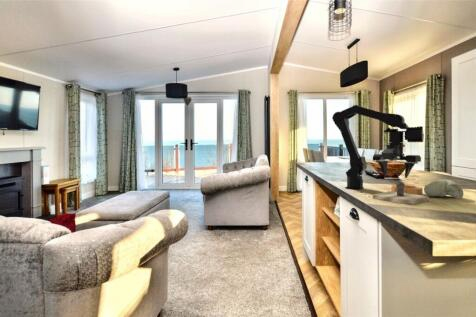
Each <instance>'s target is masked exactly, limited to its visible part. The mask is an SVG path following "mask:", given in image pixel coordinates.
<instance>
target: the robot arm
mask: <svg viewBox="0 0 476 317" xmlns="http://www.w3.org/2000/svg"><path fill="white" fill-rule="evenodd" d="M356 115H361V116H364V117H366V118H367V117H368V118H371V119H374V120H378V121H380V122H382V123H384V124H385V125H387V128H386V129H385V130H384V131H383V133H385V134H386V133H388V144H387V145H386V149H384V150H382V151H381V153H375V154H374V155H372V161H375V163H377V164H378V165H379V167H380V168H381V171H382V174H383V176H384V177H386V176H387V174H388V160H389V161H391V160H392V161H406V162H404V166H405V167H404V169H405V170H404V178H405V179H408V177H409V174H410V173H411V171H412V169H413V167H414V166H415V165H416V164H418V163H420V162H422V156H420V155H419V154H418V155H417V154H407V155H405V153H404V147H405V146H406V145H405V144H404V140H405V141H406V142H407V143H424V139H425V138H424V137H425V134H424V126H413V127H411V126H410V127H409V125H408V124H407V123H406V122H405V121H406V120H405V117H404V116H403V115H401V114H398V113H388V112H381V111H377V110H374V109H370V108H366V107H363V106H361V105H357V104H353V105H352V106H350V107H348V108H345V109H343V110H341V111H336V112H334V113H333V115H332V118H331V119H332V122H333V123H334V125H335V126H336V128H338V130H339V132H340V134H341V137H342V140H343V143H344V145H345V148H346V150H347V153H348V156H349V166H350V168H349V169H348V170H346V172H345V175H346V183H347V184H346V186H345V187H344V189H350V190H361V189H364V188H365V187H364V179H363V176H362V175H363V173H364V172H366V171H367V169H368V163H367V161H366V157H365V156H361V154H360V153H359V151H358V147H357V145H356V143H355V140H354V137H353V135H352V132H351V130H350V119H352V118H353V117H355V116H356ZM389 126H390V127H389ZM391 127H393V128H391ZM399 129H401V130H399Z"/></svg>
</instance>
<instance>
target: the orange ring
mask: <svg viewBox="0 0 476 317" xmlns="http://www.w3.org/2000/svg"><path fill="white" fill-rule="evenodd" d="M390 191H393V192H397V187H396V184H393V185H391V189H390ZM423 192H424V187H423V186H419V185H412V184H405V187H404V193H408V194H415V195H422V196H423Z"/></svg>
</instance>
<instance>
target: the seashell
mask: <svg viewBox="0 0 476 317" xmlns="http://www.w3.org/2000/svg"><path fill="white" fill-rule="evenodd" d="M423 192H424V194H425V196H429V197H431V198H432V197H433V198H434V197H441V198H443V197H446V196H450V197H452V198H454V199H457V200H460V199H462V198H463V197H464V190H463V188H462V187H461V185H460V184H458V183H457V182H456V181H454V180H451V179H445V178H444V179H436V180H435V179H434V180H433V181H430V182H428V183H426V184H425V185H424V187H423Z"/></svg>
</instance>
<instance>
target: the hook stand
mask: <svg viewBox="0 0 476 317" xmlns="http://www.w3.org/2000/svg"><path fill="white" fill-rule="evenodd" d="M395 185H396V187H397V192H393V191H391V190H389V191H385V192H379V193H375V194H373V195H372V197H373V198H372V199H375V200H380V201H386V202H392V203H393V202H394V203H399V204H405V205H410V204H411V206H415V205H417V204H421V203H423V202H427V201H429V197H430V196H428V195H423V194H422V195H415V194H408V193H404V187H405V185H406V184H405V183H404V182H402V181H398V182H397V183H396V184H395Z"/></svg>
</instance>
